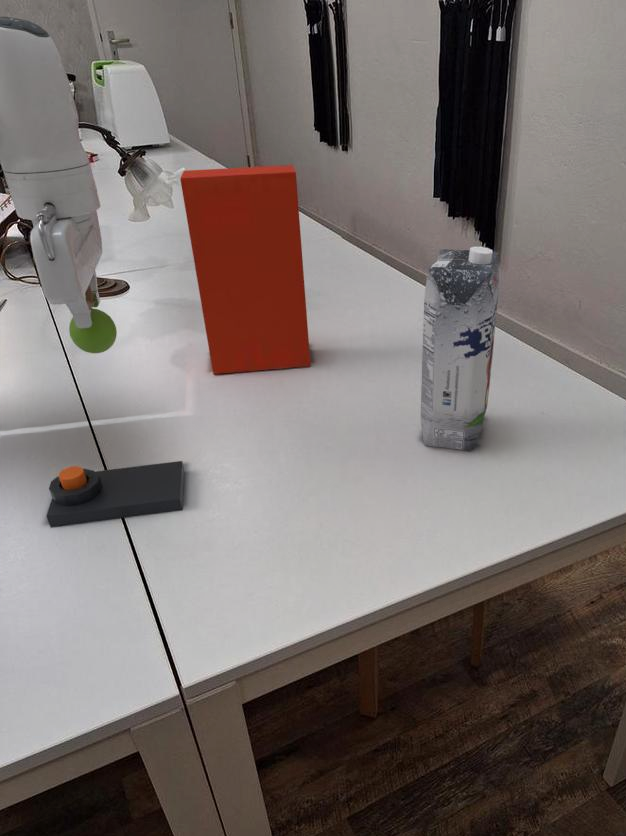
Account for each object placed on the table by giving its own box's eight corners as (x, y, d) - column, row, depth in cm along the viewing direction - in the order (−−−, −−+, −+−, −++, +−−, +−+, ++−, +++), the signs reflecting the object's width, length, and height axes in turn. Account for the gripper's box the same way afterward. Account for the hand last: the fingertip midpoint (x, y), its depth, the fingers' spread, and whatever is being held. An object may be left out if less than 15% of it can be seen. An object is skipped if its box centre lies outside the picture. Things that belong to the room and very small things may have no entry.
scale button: (60, 492, 81) (56, 480, 80) (64, 479, 84) (60, 467, 83) (85, 489, 82) (81, 477, 81) (88, 476, 84) (85, 464, 83)
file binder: (214, 357, 122) (183, 169, 103) (307, 349, 124) (292, 164, 105) (213, 375, 115) (180, 178, 97) (310, 367, 117) (295, 172, 99)
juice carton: (416, 449, 93) (421, 258, 78) (430, 414, 102) (437, 235, 86) (478, 457, 91) (496, 262, 76) (487, 420, 100) (505, 238, 84)
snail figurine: (124, 338, 86) (100, 244, 79) (118, 357, 81) (92, 259, 74) (81, 342, 85) (53, 248, 78) (73, 362, 80) (42, 263, 73)
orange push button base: (50, 528, 81) (42, 505, 78) (63, 487, 88) (55, 465, 86) (182, 510, 83) (177, 488, 81) (184, 472, 90) (179, 450, 88)
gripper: (70, 213, 64) (106, 345, 72) (96, 176, 81) (123, 287, 89) (2, 218, 63) (46, 351, 71) (42, 180, 80) (75, 291, 88)
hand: (89, 315), depth 80 cm, fingers closed on snail figurine, 5 cm apart
